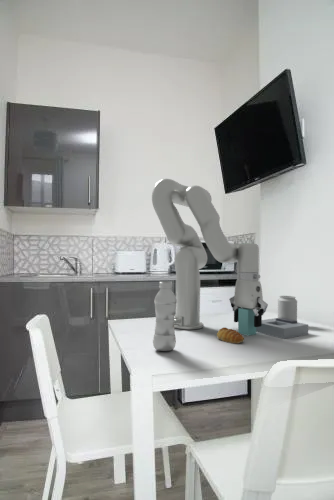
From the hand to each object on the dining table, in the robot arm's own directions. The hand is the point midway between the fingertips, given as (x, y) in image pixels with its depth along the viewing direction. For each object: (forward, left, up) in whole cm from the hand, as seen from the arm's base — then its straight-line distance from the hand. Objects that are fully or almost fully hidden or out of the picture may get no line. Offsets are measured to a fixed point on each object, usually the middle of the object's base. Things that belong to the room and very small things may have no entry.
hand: (247, 324), depth 118 cm
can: (+26, +2, -4) cm, 26 cm away
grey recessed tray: (+12, -5, -3) cm, 13 cm away
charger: (0, 0, -3) cm, 3 cm away
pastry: (-12, -4, -4) cm, 13 cm away
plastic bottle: (-38, -3, -4) cm, 38 cm away
